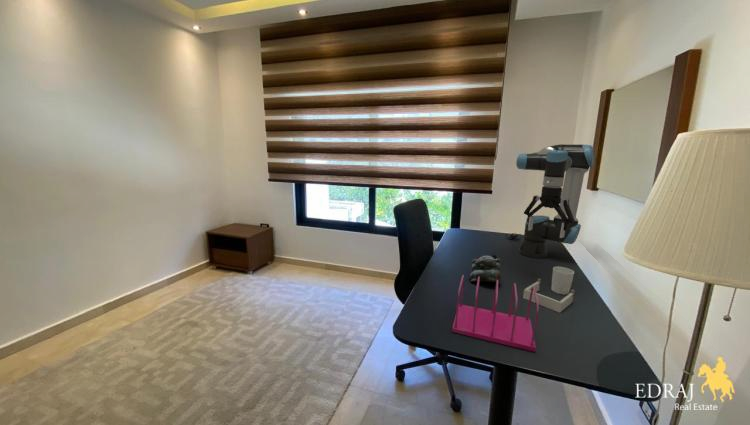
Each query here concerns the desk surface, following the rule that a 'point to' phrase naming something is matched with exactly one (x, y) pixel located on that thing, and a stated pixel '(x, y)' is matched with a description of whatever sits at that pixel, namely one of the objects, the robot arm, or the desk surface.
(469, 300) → the desk surface
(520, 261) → the desk surface
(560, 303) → the open u-shaped frame
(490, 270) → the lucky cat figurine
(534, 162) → the robot arm
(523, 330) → the file sorter
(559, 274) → the white cup
